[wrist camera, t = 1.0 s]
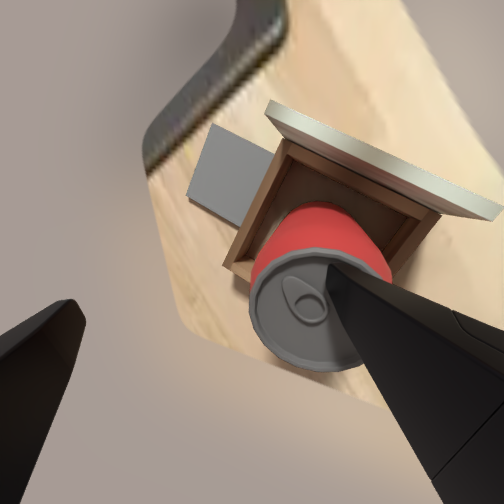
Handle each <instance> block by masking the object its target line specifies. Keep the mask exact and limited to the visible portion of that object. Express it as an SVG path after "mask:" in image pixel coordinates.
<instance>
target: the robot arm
mask: <svg viewBox="0 0 504 504" xmlns="http://www.w3.org/2000/svg"><path fill="white" fill-rule="evenodd" d="M325 285H326V289H327V291H328V293H329V296H330V298H331V300H332V303H333V305H334V307H335V310H336V312H337V314H338V317H339V319H340V321H341V323H342V325H343V327H344V329H345V331H346V333H347V335H348V336H349V338H350V340H351V342H352V343H353V345H354V347H355V349H356V350H357V352H358V354H359V356H360V357H361V359H362V361H363V363H364V364H365V366H366V368H367V370H368V371H369V373H370V375H371V377H372V378H373V380H374V382H375V384H376V386H377V387H378V389H379V391H380V393H381V394H382V396H383V398H384V400H385V401H386V403H387V405H388V407H389V408H390V410H391V412H392V414H393V415H394V417H395V419H396V421H397V422H398V424H399V426H400V428H401V429H402V431H403V433H404V435H405V436H406V438H407V440H408V442H409V443H410V445H411V447H412V449H413V450H414V452H415V454H416V455H417V458H418V459H419V461H420V463H421V465H422V466H423V468H424V470H425V472H426V473H427V475H428V477H429V478H430V479H431V482H432V484H433V486H434V488H435V489H436V491H437V493H438V494H439V497H440V498H441V500H442V502H443V504H504V331H503V330H500V329H497V328H495V327H492V326H490V325H488V324H485V323H483V322H480V321H478V320H476V319H473V318H471V317H468V316H466V315H464V314H461V313H459V312H457V311H454V310H452V311H451V309H450V308H447V307H445V306H443V305H440V304H438V303H436V302H433V301H431V300H429V299H426V298H424V297H422V296H419V295H417V294H415V293H412V292H410V291H408V290H405V289H403V288H401V287H398V286H396V285H394V284H391V283H389V282H387V281H384V280H382V279H380V278H377V277H375V276H373V275H370V274H368V273H366V272H363V271H361V270H359V269H356V268H354V267H352V266H349V265H347V264H345V263H342V262H334V263H330V264H329V265H328V267H327V274H326V281H325ZM85 326H86V318H85V316H84V314H83V312H82V311H81V309H80V307H79V305H78V304H77V302H76V301H75V300H73V299H66V300H59V301H57V302H55V303H53V304H51V305H50V306H48V307H46V308H45V309H43V310H42V311H40V312H38V313H37V314H35V315H34V316H32V317H30V318H28V319H27V320H25V321H23V322H22V323H20V324H19V325H17V326H16V327H14V328H12V329H10V330H9V331H7V332H6V333H4V334H2V335H1V336H0V504H20V502H21V499H22V497H23V495H24V492H25V490H26V487H27V485H28V482H29V480H30V477H31V474H32V472H33V469H34V467H35V465H36V462H37V459H38V457H39V455H40V452H41V450H42V447H43V445H44V442H45V440H46V437H47V434H48V432H49V430H50V427H51V425H52V422H53V420H54V417H55V415H56V412H57V410H58V407H59V405H60V402H61V400H62V397H63V395H64V392H65V390H66V387H67V385H68V382H69V380H70V377H71V374H72V371H73V368H74V365H75V362H76V358H77V355H78V351H79V348H80V344H81V341H82V337H83V333H84V330H85Z"/></svg>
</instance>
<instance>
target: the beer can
mask: <svg viewBox="0 0 504 504" xmlns="http://www.w3.org/2000/svg"><path fill="white" fill-rule="evenodd" d="M334 262H342V263H345V264H347V265H349V266H352V267H354V268H356V269H359V270H361V271H363V272H366V273H368V274H370V275H373V276H375V277H377V278H380V279H382V280H384V281H387V282H389V283H391V284H393V283H392V275H391V270H390V268H389V266H388V265H387V263H386V261H385V259H384V257H383V255H382V253H381V251H380V250H379V249H378V248H377V246H376V245H375V244H374V243H373V242H372V240H371V239H370V238H369V237H368V235H367V234H366V233H365V232H364V231H363V229H362V228H361V227H360V226H359V224H358V223H357V222H356V221H355V220H354V218H353V217H352V216H351V215H350V214H349V213H348V212H346V211H345V210H344V209H343V208H342V207H340V206H338V205H335V204H333V203H330V202H323V201H313V202H309V203H304V204H302V205H300V206H298V207H297V208H295V209H293V210H292V211H291V212H290V213H289V214H288V215H287V216H286V217H285V218H284V219H283V221H282V222H281V223H280V225H279V226H278V227H277V229H276V230H275V232H274V233H273V234H272V236H271V237H270V238H269V240H268V241H267V242H266V244H265V245H264V247H263V248H262V249H261V251H260V252H259V254H258V256H257V258H256V261H255V263H254V265H253V268H252V270H251V279H250V297H249V315H250V318H251V322H252V325H253V329H254V330H255V332H256V333H257V335H258V337H259V338H260V340H261V341H262V343H263V344H264V345H265V346H266V347H267V348H268V349H269V350H270V351H272V352H273V353H274V354H275V355H276V356H277V357H278V358H280V359H282V360H284V361H286V362H288V363H290V364H292V365H294V366H296V367H299V368H303V369H307V370H311V371H315V372H340V371H343V370H347V369H351V368H355V367H358V366H360V365H362V364H363V361H362V359H361V357H360V356H359V354H358V352H357V350H356V349H355V347H354V345H353V343H352V342H351V340H350V338H349V336H348V335H347V333H346V331H345V329H344V327H343V325H342V323H341V321H340V319H339V317H338V314H337V312H336V310H335V307H334V305H333V303H332V300H331V298H330V296H329V293H328V291H327V289H326V285H325V281H326V274H327V267H328V265H329V264H330V263H334Z"/></svg>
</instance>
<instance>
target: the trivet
mask: <svg viewBox="0 0 504 504" xmlns="http://www.w3.org/2000/svg"><path fill="white" fill-rule="evenodd" d="M274 155H275V154H273V153H271V152H269V151H267V150H265V149H263V148H261V147H259V146H257V145H255V144H253V143H251V142H249V141H247V140H245V139H243V138H241V137H239V136H237V135H235V134H234V133H232V132H230V131H228V130H226V129H224V128H222V127H220V126H218V125H216V124H214V123H212V125H211V128H210V130H209V133H208V136H207V138H206V141H205V144H204V147H203V149H202V152H201V155H200V158H199V160H198V163H197V166H196V169H195V171H194V174H193V177H192V180H191V182H190V185H189V188H188V190H187V193H186V196H187V197H189V198H191V199H193V200H194V201H196V202H198V203H199V204H201V205H203V206H205V207H206V208H208V209H210V210H211V211H213V212H215V213H217V214H218V215H220V216H222V217H223V218H225V219H227V220H228V221H230V222H232V223H234V224H235V225H237V226H239V227H241V224H242V222H243V220H244V218H245V216H246V214H247V212H248V210H249V208H250V205H251V203H252V201H253V199H254V197H255V195H256V193H257V191H258V189H259V187H260V184H261V182H262V180H263V178H264V176H265V174H266V172H267V170H268V168H269V165H270V163H271V161H272V159H273V157H274Z"/></svg>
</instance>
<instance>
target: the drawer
mask: <svg viewBox="0 0 504 504" xmlns="http://www.w3.org/2000/svg"><path fill="white" fill-rule="evenodd" d="M264 114H265V115H266V116H267V118H268V119H269V120H270V121H271V122H272V124H273V125H274V126H275V127H276V128H277V130H278V131H279V132H280V133H281V134H282V136H283V137H284V138H285V139H284V138H282V140H281V142H280V144H279V147H278V149H277V151H276V153H275V155H274V157H273V159H272V161H271V163H270V165H269V168H268V170H267V172H266V174H265V176H264V178H263V180H262V182H261V184H260V187H259V189H258V191H257V193H256V195H255V197H254V199H253V201H252V203H251V205H250V208H249V210H248V212H247V214H246V216H245V218H244V220H243V222H242V224H241V227H240V229H239V231H238V233H237V235H236V237H235V239H234V241H233V243H232V246H231V248H230V250H229V252H228V254H227V256H226V258H225V260H224V262H223V264H222V266H224V267H225V268H227V269H228V270H230V271H232V272H233V273H235V274H236V275H238V276H240V277H241V278H243V279H244V280H246V281H248V282H249V283H250V279H251V270H252V268H253V265H254V263H255V260H253V259H251V258H250V257H248V256H246V253H247V251H248V249H249V247H250V245H251V243H252V241H253V239H254V237H255V235H256V233H257V231H258V229H259V227H260V225H261V223H262V221H263V219H264V217H265V215H266V213H267V211H268V209H269V207H270V205H271V203H272V201H273V199H274V197H275V195H276V193H277V191H278V189H279V187H280V186H281V184H282V182H283V180H284V178H285V176H286V174H287V172H288V170H289V168H290V166H291V164H292V162H293V160H295V161H297V162H299V163H301V164H303V165H305V166H307V167H309V168H311V169H313V170H315V171H317V172H319V173H321V174H323V175H325V176H327V177H329V178H331V179H333V180H335V181H337V182H339V183H341V184H343V185H345V186H347V187H349V188H351V189H353V190H355V191H357V192H359V193H361V194H363V195H365V196H367V197H369V198H371V199H373V200H375V201H377V202H379V203H381V204H383V205H385V206H387V207H389V208H391V209H393V210H395V211H397V212H399V213H401V214H403V215H405V216H407V217H408V218H407V219H406V220H405V222H404V223H403V224H402V226H401V227H400V229H399V230H398V231H397V233H396V234H395V235H394V237H393V238H392V239H391V241H390V242H389V243H388V245H387V246H386V247H385V249H384V250H383V251H382V255H383V257H384V259H385V261H386V263H387V265H388V266H389V268H390V270H391V275H392V278H393V277H394V276H395V274H396V273H397V272H398V271H399V269H400V268H401V267H402V266H403V264H404V263H405V262H406V261H407V259H408V258H409V257H410V255H411V254H412V253H413V252H414V250H415V249H416V248H417V247H418V245H419V244H420V243H421V242H422V240H423V239H424V238H425V237H426V235H427V234H428V233H429V232H430V230H431V229H432V228H433V227H434V225H435V224H436V223H437V221H438V220H439V219H440V218H441V216H442V215H440V214H446V215H452V216H459V217H465V218H472V219H479V220H485V221H492V222H493V220H494V219H495V218H496V217H497V216H498V215H499V214H500V213H501V211H502V210H503V209H504V206H502V205H500V204H498V203H495V202H493V201H491V200H489V199H487V198H484V197H482V196H480V195H478V194H476V193H474V192H471V191H469V190H467V189H465V188H463V187H461V186H458V185H456V184H454V183H452V182H450V181H447V180H445V179H443V178H441V177H439V176H437V175H434V174H432V173H430V172H428V171H426V170H423V169H421V168H419V167H417V166H415V165H413V164H410V163H408V162H406V161H404V160H402V159H399V158H397V157H395V156H393V155H391V154H389V153H386V152H384V151H382V150H380V149H378V148H375V147H373V146H371V145H369V144H367V143H365V142H362V141H360V140H358V139H356V138H354V137H351V136H349V135H347V134H345V133H343V132H341V131H338V130H336V129H334V128H332V127H330V126H327V125H325V124H323V123H321V122H319V121H317V120H314V119H312V118H310V117H308V116H306V115H304V114H301V113H299V112H297V111H295V110H293V109H290V108H288V107H286V106H284V105H282V104H280V103H277V102H275V101H273V100H271V99H270V101H269V104H268V106H267V108H266V110H265V113H264ZM438 213H439V214H438Z"/></svg>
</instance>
